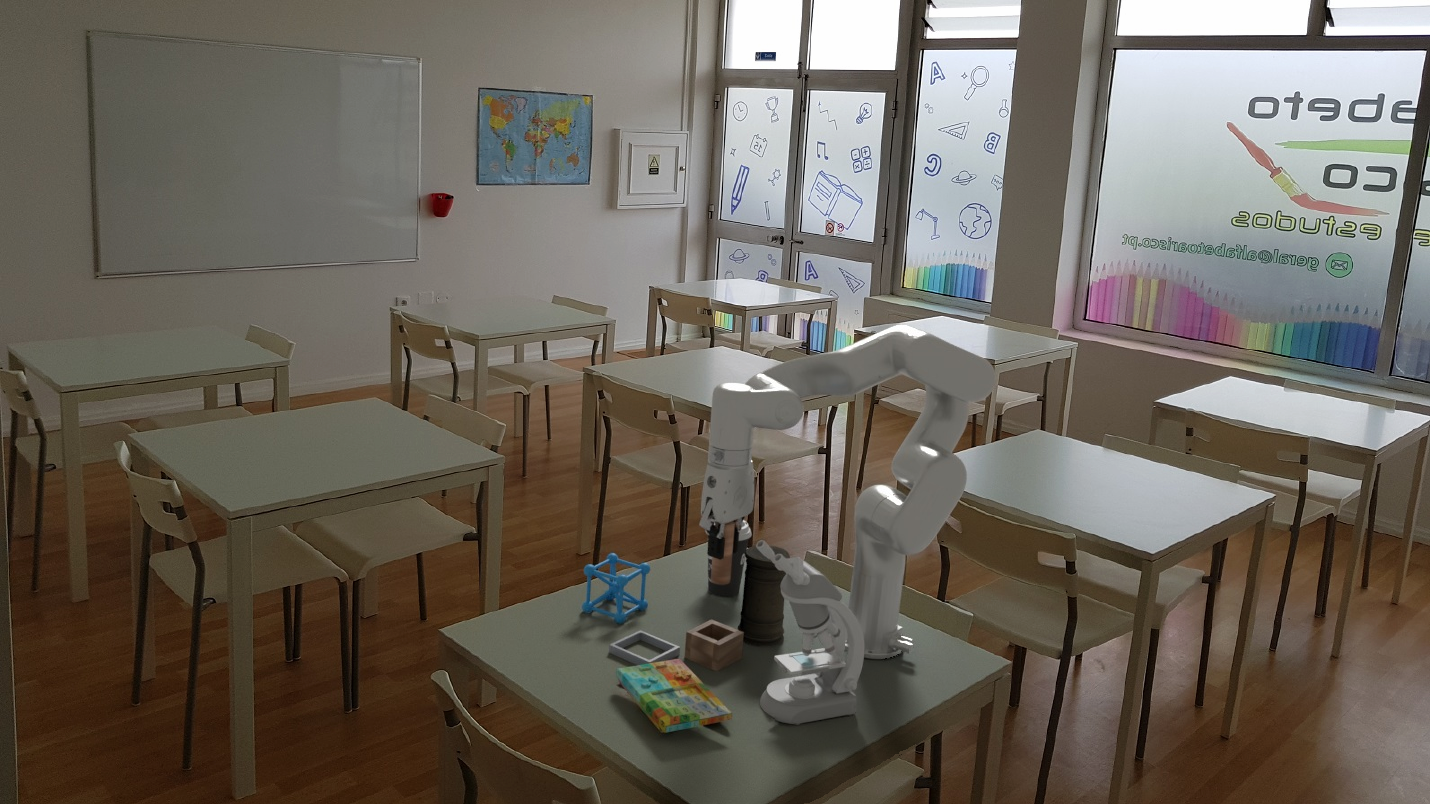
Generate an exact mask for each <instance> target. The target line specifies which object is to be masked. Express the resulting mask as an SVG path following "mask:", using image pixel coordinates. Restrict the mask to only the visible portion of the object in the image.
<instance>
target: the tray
mask: <svg viewBox="0 0 1430 804" xmlns="http://www.w3.org/2000/svg"><path fill="white" fill-rule="evenodd" d="M639 641H642V642H643V643H647V644H649V645H651V646H653V647H656V648H658V649H661V650H663V651H664V652H663V653H661V654H658V655H657V656H655V657H653V658H651V659H648V658H646V657H643V656H641V655H638V654H636V653H634V652H631V651H630V650H627V649H624V648H626V647H628V646H630V645H633V644H635V643H637V642H639ZM608 649H609V650H608V653H609V654H611V655H613V656H616V657H618V658H620V659H622V660H625V661H627V662H630V663H631V664H634V665H635V666H637V665H643V664H649V663H655V662H661V661H667V660H673V659H675V658H676V657H678V656H680V653H681V647H680V646H679V645H677V644H674V643H672V642H670V641H667V640H664V639H663V638H660V637H657V636H655V635H652V634H650V633H648V632H646V631H644V630H641V629H640V630H638V631H636V632H634V633H632V634H630V635H626V636H624V637H622V638H621V639H618V640H616V641H615V642H612V643H610V644H609V647H608Z"/></svg>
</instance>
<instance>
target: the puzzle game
mask: <svg viewBox="0 0 1430 804" xmlns="http://www.w3.org/2000/svg"><path fill="white" fill-rule="evenodd" d="M615 677H616V679H617V680H618V682H619V684H620V685H621V686H622V687H623V689H624V691H627V692H626V693H627V694H628V695H629V697H631V699H632V701H634V702H635V703H636V704H637V705H638V708H640V709H641V711H642V712H643V713H644V714H645V715H646V717H648V719H649V720H650V722H652V724H654V726H655V727H656V729H658V731H659V732H660V733H664V734H666V733H670V732H675V731H680V730H686V729H690V728H696V727H700V726H706V725H711V724H715V723H721V722H726V721H730V720H731V721H732V720H733V713H732V712H731V710H730V709H728V708H727V707H726V706H725V704H723V702H722V701H721V700H720V699H719V698H718V697H717V696H716V695H715V694H714V693H713V692H712V691H711V690H710V689H709V687H707V685H705V684H704V683H703V682H702V680H701V679H700V678H699V677H698V676H697V675H696V674H695V673H694V672H693V671H692V670H691V668H689V666H687V665H686V663H684V661H682V659H680V658H672V659H670V660H667V661H661V662H655V663H649V664H643V665H632V666H627V667H620V668H616V669H615Z"/></svg>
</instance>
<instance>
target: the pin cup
mask: <svg viewBox="0 0 1430 804" xmlns="http://www.w3.org/2000/svg"><path fill="white" fill-rule="evenodd" d="M743 636H744V632H742V631H739V630H738V628H734V627H732V626H730V625H727V624H724V623H723V622H722V623H721V622H720V621H716V620H714V619H709V620H708V621H705V622H703V623H701V624H699V625H698V626H694V627H693V628H692V629H689V630H687V631H686V634H685V647H684V658H685V659H688V660H689V661H692V662H694V663H696V664H699V665H701V666H703V667H705V668H708V669H711V670H713V671H715V672H719V671H720V670H722V669H724V668H726V667H728V666H730V665H731V664H734V663H735V662H737V661H738V660H741V659H742V656H743V647H744V646H743V645H744V642H743Z"/></svg>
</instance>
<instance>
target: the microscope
mask: <svg viewBox="0 0 1430 804" xmlns="http://www.w3.org/2000/svg"><path fill="white" fill-rule="evenodd" d="M755 546H756V548H757V549H758V550H759V551H760V552H761V553H762V554H763V555H764V556H765V557H767V558H768V559H770V560H771V561H772V562H773V563H774V564H775V567H776V568H777V569H778V570H783V571H784V572H785V573H787V574H786V575H785V577H784V578H783V580H782V582H781V585H780V588H781V593H782V596H783V597H784V600H785V601H788V602H789V605H790V607H791V609H792V613H793V616H794V619H795V621H796V624H797V627H798V629H799V631H801V632H802V640H801V643H802V647H801V648H802V649H801V651H797V652H792V653H784V654H778V655H774V658H773V660H774V661H775V662H776V663H777V666H778V667H779V668H780V669H781V670H782V671H783V672H785V673H788V674H789V675H790V676H792V677H786V678H785V677H784V678H780V679H776V680H773V681H771V682H770V683H768V685H767V686H766V689H765V690H764V691H763V692H762V694H761V695H760V698H759V699H760V700H759V705H760V707H761V710H763V711H764V712H765V713H766V714H767V715H769V716H771V717H772V719H773V720H775V721H778V722H780V723H783V724H787V725H788V724H789V725H796V726H799V725H801V724H805V723H809V722H815V721H820V720H825V719H831V718H837V717H841V716H842V717H843V716H848V715H849V716H853V715H854V714H855V713H856V710H857V702H858V699H857V698H858V697H857V695H856V693H854V692H853V691H854V690H857V688H858V681H859V678H860V675H861V672H862V668H863V666H864V665H863V664H864V660H865V659H864V638H863V633H862V630H861V627H860V625H859V623H858V621H857V619H856V617H855V616H854V614H853V613H852V611H851V610H850V609H849V606H847V604H845V603H844V602H842V599H843V593H841V592H840V590H839V589H838V588H837V587H836V586H835V585H834V584H833V583H832V582H831V580H829V578H828V577H827V576H826V575H824V574H823V573H822V572H820V571H819V570H817V569H816V568H815V567H813V566H812V565H811V564H810V563H808V562H807V561H806V560H803V559H802V558H801V557H799V556H796V557H795V556H793V557H790V558H788V559H786V558H785V557H784V556H783V555H782V554H777V555H775V553H774V552H773V551H772V549H771V548H770V546H771V545H770V546H769V544H768V543H767V542H766V541H765V540H762V539H760V540H758V541H757V542H756V545H755ZM846 630H847V633H848V637H849V650H848V652H847V655H846V657H845V660H843V657H844V653H845V644H846ZM816 638H818V640H819V642H820V644H821V645H822V646H823V648H817V649H815V648H814V649H812V648H813V645H814V640H815V639H816ZM797 675H798V676H797Z"/></svg>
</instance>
